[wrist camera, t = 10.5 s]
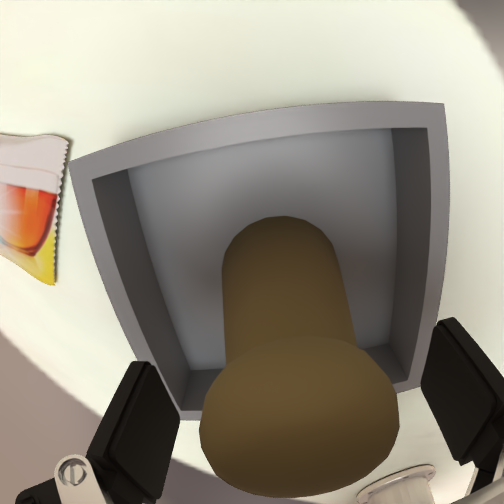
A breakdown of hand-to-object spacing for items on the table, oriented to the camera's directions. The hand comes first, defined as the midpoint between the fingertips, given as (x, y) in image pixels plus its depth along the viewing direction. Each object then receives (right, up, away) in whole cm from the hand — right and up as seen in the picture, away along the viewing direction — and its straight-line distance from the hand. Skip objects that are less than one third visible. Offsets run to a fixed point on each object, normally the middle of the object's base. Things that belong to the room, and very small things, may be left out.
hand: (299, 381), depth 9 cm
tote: (0, +4, +7) cm, 8 cm away
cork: (0, +3, +7) cm, 7 cm away
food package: (-26, +11, +6) cm, 29 cm away
